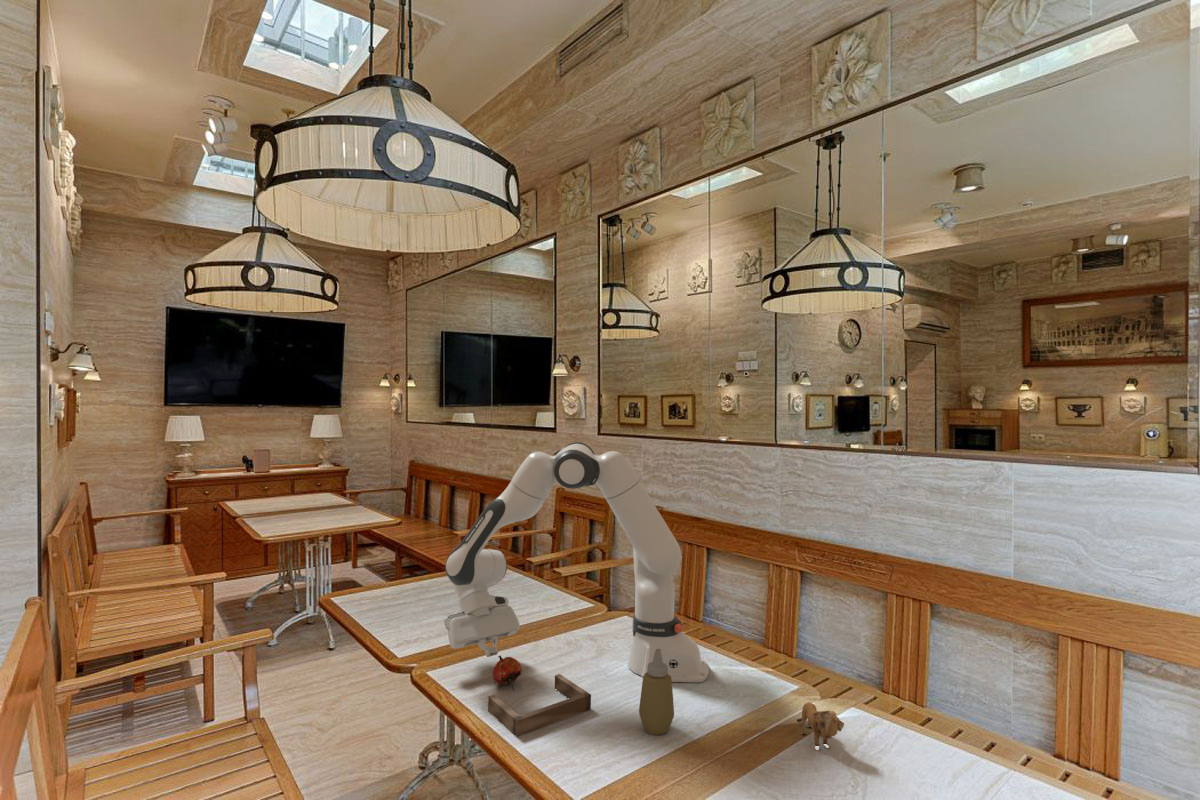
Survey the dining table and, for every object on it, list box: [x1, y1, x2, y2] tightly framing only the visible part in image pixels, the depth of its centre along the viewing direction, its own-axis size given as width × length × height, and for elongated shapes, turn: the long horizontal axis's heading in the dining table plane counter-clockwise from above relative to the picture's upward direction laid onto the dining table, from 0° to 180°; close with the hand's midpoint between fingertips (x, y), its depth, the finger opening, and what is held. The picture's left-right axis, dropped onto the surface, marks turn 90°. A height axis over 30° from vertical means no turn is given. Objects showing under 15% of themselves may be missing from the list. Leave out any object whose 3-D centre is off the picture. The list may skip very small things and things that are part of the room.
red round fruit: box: [492, 655, 523, 691], centre depth 156 cm, size 7×7×10 cm
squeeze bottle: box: [638, 649, 675, 736], centre depth 137 cm, size 8×8×18 cm
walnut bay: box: [487, 673, 592, 737], centre depth 144 cm, size 14×20×4 cm, turn 128°
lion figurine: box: [796, 701, 845, 747], centre depth 134 cm, size 15×5×9 cm, turn 15°
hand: (492, 655), depth 163 cm, fingers closed
